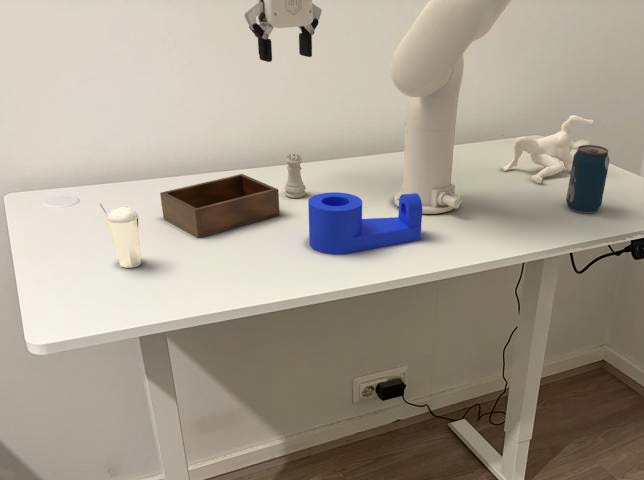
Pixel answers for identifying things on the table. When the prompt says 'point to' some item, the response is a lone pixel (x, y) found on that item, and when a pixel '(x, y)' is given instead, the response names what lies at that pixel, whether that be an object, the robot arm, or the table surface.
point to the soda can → (587, 179)
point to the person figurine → (550, 149)
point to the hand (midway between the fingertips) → (286, 58)
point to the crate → (219, 204)
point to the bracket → (359, 223)
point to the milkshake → (125, 235)
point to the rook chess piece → (294, 178)
